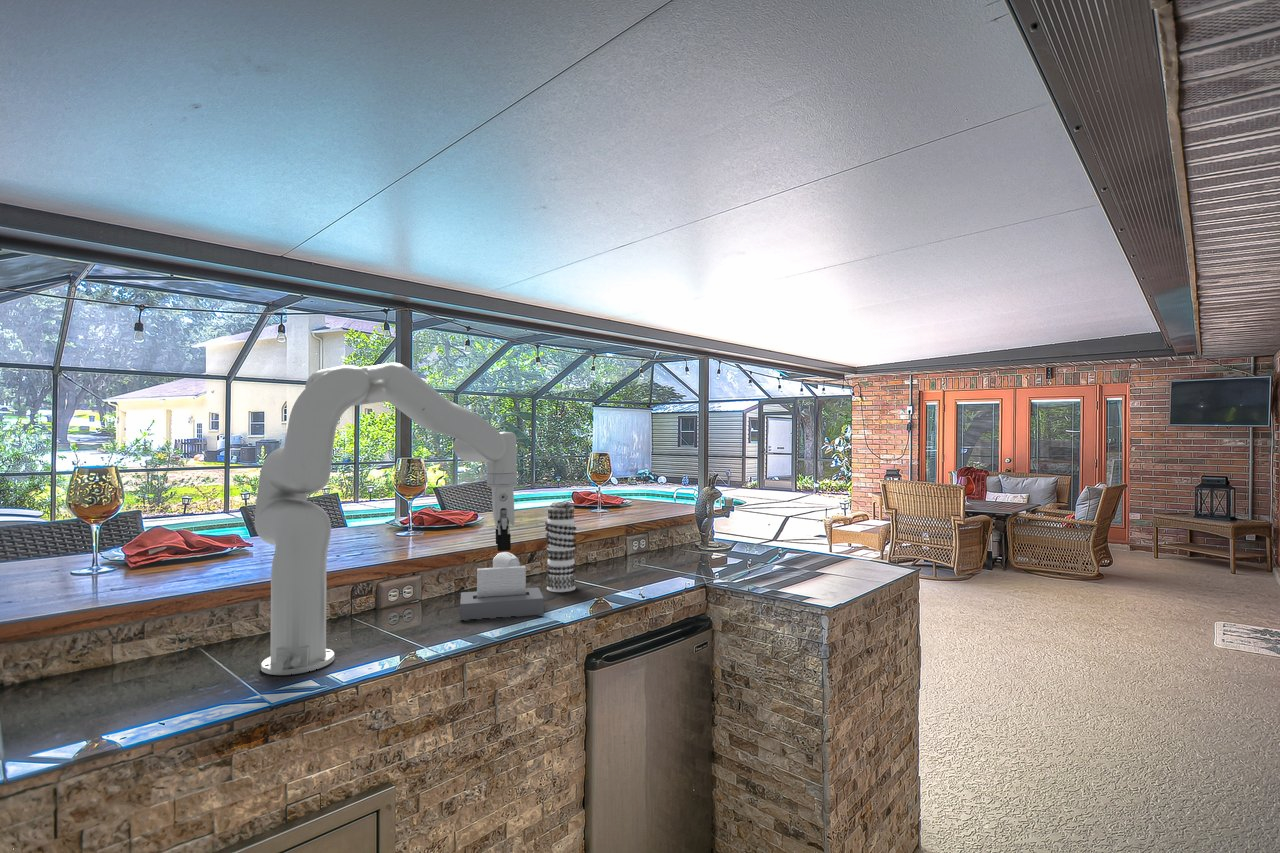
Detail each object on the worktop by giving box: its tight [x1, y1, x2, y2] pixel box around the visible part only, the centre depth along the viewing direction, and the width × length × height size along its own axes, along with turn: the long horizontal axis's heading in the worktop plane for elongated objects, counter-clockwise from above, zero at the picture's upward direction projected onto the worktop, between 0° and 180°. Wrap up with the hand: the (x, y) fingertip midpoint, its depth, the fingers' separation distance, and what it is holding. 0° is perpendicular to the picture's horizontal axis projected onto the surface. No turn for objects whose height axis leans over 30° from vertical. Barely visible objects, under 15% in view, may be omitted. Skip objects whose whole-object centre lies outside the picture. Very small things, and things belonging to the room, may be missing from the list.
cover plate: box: [476, 565, 527, 599], centre depth 160 cm, size 2×12×11 cm, turn 105°
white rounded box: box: [492, 551, 521, 568], centre depth 174 cm, size 10×4×12 cm, turn 39°
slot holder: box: [459, 586, 545, 621], centre depth 160 cm, size 12×20×4 cm, turn 105°
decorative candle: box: [544, 501, 577, 593], centre depth 184 cm, size 9×9×25 cm
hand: (503, 547), depth 161 cm, fingers open, 9 cm apart
